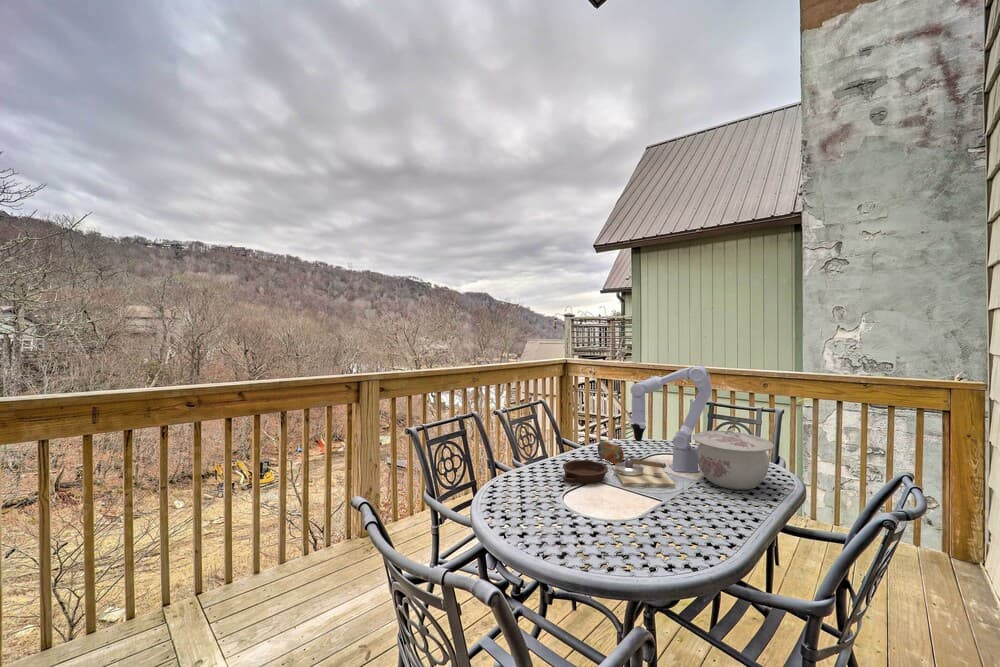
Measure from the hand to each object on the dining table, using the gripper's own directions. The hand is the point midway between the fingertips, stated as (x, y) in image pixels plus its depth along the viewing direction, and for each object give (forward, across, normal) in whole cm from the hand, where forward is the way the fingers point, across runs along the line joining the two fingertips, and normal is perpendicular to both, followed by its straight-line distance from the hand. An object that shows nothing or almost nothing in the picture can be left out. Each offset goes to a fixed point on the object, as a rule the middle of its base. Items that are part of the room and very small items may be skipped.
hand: (638, 440), depth 190 cm
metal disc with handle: (+8, +19, -4) cm, 21 cm away
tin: (+10, 0, -12) cm, 15 cm away
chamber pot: (+10, +23, +29) cm, 38 cm away
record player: (+9, +19, -4) cm, 22 cm away
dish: (+10, +21, -26) cm, 35 cm away
